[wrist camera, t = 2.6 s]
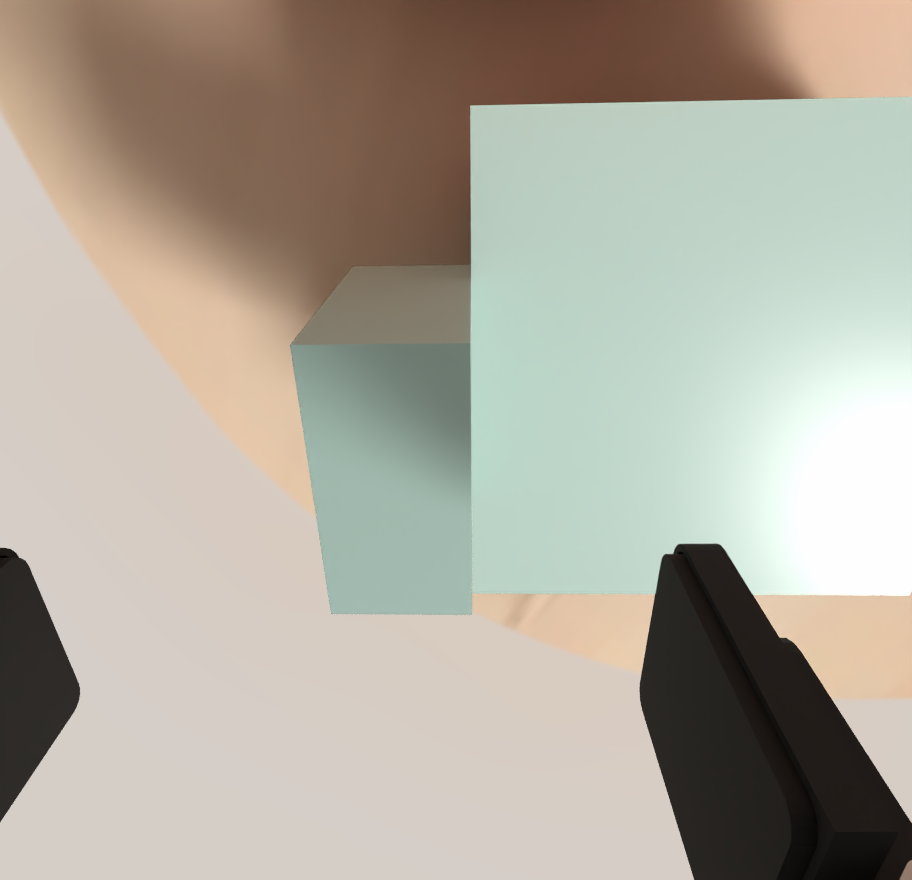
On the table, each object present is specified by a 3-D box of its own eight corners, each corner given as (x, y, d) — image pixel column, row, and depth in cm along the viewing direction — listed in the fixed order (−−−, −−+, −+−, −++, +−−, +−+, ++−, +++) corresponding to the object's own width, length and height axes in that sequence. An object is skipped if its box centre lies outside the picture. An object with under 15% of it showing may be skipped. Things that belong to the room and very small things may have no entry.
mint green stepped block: (346, 109, 15) (254, 104, 8) (1027, 96, 14) (1456, 80, 8) (384, 542, 21) (347, 723, 15) (861, 542, 20) (1032, 730, 14)
